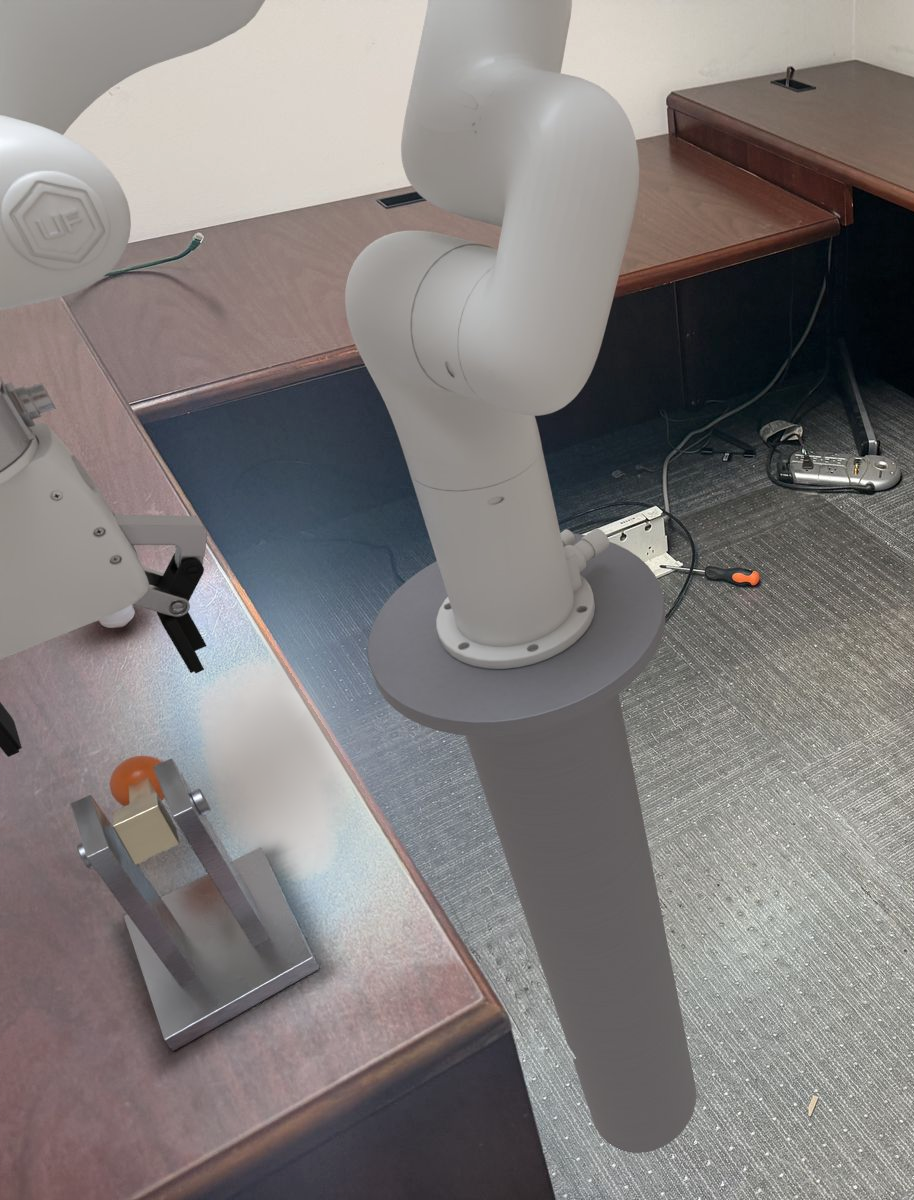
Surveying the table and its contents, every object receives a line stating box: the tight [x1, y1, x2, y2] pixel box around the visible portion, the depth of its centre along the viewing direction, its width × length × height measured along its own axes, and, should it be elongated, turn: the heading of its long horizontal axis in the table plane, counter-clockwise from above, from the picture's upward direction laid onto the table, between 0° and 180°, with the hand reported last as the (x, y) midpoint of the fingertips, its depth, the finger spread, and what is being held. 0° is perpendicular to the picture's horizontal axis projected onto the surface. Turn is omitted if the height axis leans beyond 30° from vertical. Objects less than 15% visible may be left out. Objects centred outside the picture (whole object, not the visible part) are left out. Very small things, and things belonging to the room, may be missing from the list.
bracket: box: [69, 758, 320, 1052], centre depth 60 cm, size 10×8×13 cm
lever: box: [109, 754, 180, 865], centre depth 61 cm, size 13×3×3 cm, turn 36°
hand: (105, 698), depth 62 cm, fingers open, 9 cm apart
